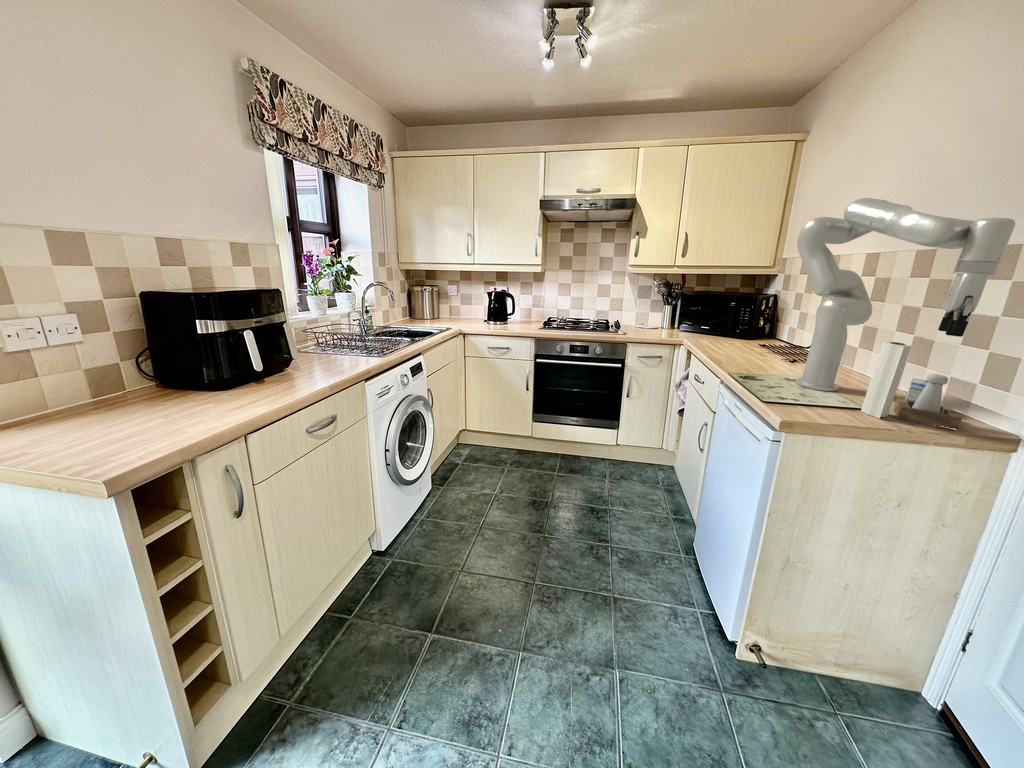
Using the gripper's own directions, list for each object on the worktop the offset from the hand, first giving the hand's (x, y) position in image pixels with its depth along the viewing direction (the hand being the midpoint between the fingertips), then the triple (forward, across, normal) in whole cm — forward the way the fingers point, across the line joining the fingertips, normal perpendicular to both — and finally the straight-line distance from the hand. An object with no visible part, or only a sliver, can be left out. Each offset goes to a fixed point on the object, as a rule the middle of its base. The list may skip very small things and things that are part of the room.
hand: (949, 333), depth 112 cm
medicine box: (+25, -11, 0) cm, 28 cm away
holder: (+25, +1, +1) cm, 25 cm away
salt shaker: (+25, +1, +1) cm, 25 cm away
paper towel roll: (+25, +7, -10) cm, 28 cm away
